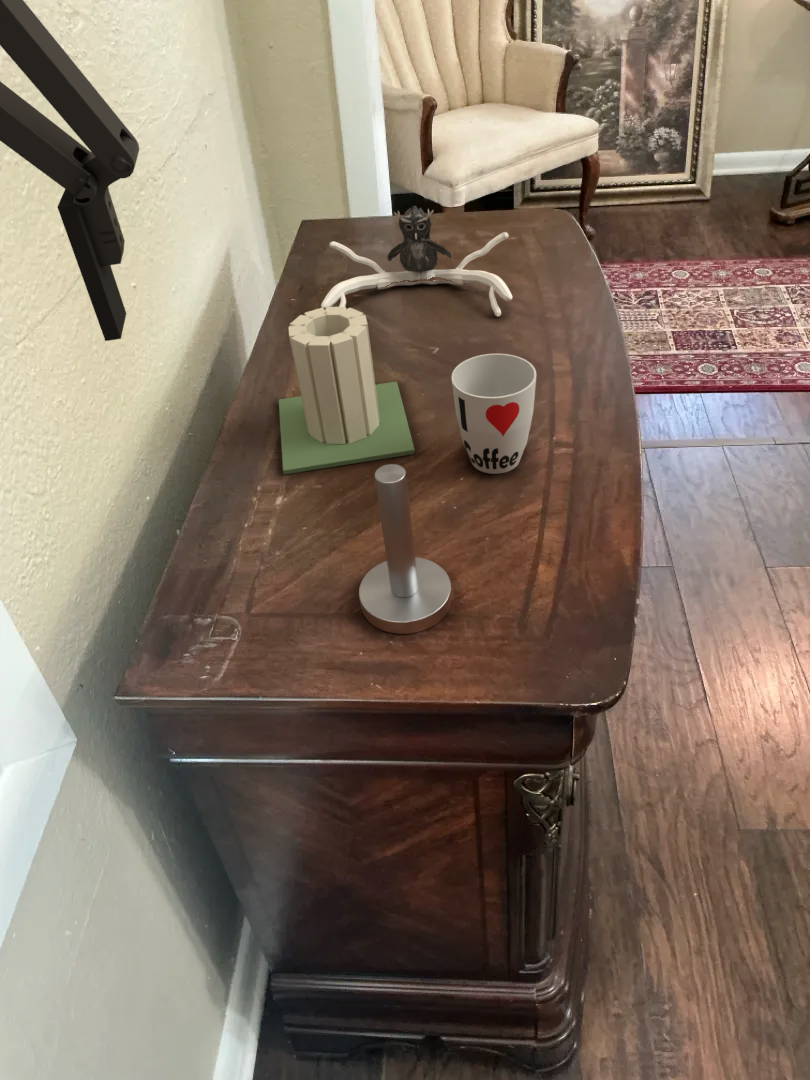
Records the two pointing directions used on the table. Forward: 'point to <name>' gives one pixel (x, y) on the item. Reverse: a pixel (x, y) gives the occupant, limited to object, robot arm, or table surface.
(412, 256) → the owl
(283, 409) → the mat
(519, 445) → the cup
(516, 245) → the table surface
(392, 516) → the stand
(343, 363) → the cream slatted holder
